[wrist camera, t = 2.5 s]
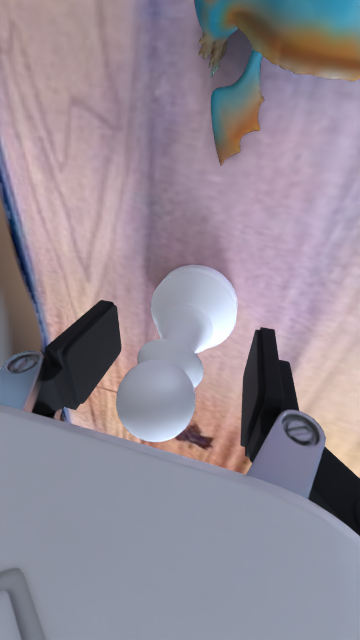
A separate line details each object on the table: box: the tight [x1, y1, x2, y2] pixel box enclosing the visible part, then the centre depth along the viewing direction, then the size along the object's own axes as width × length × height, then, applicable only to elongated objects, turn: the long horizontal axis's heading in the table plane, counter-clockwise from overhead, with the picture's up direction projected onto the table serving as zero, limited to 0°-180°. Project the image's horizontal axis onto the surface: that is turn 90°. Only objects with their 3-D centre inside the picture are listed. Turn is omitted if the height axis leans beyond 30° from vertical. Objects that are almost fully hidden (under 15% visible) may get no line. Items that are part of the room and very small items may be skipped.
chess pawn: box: [116, 265, 238, 442], centre depth 11 cm, size 5×5×9 cm
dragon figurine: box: [194, 0, 360, 165], centre depth 7 cm, size 7×7×8 cm
